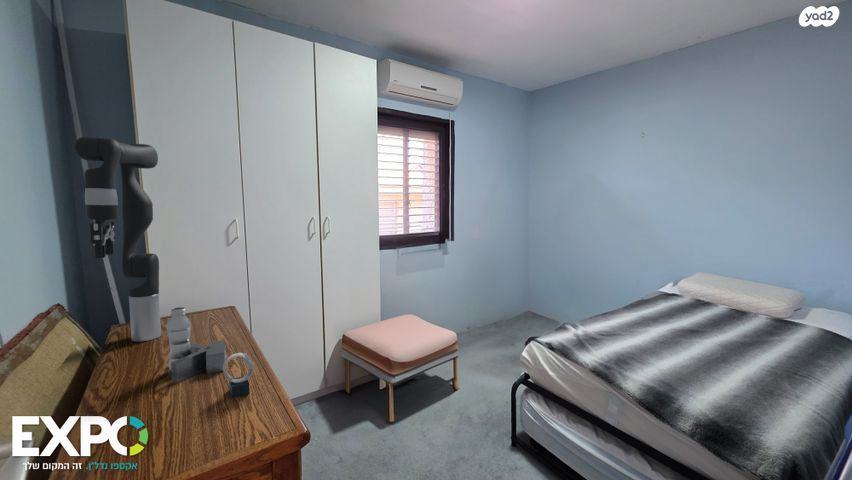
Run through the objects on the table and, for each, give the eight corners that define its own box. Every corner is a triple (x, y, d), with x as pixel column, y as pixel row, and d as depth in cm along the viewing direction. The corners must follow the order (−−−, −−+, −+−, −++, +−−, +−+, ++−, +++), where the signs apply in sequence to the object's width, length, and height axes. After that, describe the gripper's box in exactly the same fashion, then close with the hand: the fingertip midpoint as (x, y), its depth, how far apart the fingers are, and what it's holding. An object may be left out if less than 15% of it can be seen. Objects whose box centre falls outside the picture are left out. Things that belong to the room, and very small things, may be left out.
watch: (257, 391, 102) (256, 354, 102) (224, 400, 98) (223, 360, 97) (253, 383, 107) (252, 347, 106) (222, 391, 102) (220, 353, 101)
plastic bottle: (181, 376, 111) (178, 312, 109) (163, 373, 112) (159, 311, 110) (198, 367, 117) (196, 306, 115) (181, 365, 119) (178, 305, 117)
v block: (179, 360, 122) (179, 343, 122) (226, 353, 128) (225, 336, 128) (171, 384, 106) (170, 364, 105) (224, 374, 112) (224, 356, 112)
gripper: (110, 203, 106) (113, 258, 108) (123, 204, 119) (126, 252, 120) (76, 203, 103) (80, 259, 104) (93, 203, 116) (97, 253, 117)
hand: (105, 256), depth 112 cm, fingers open, 8 cm apart
